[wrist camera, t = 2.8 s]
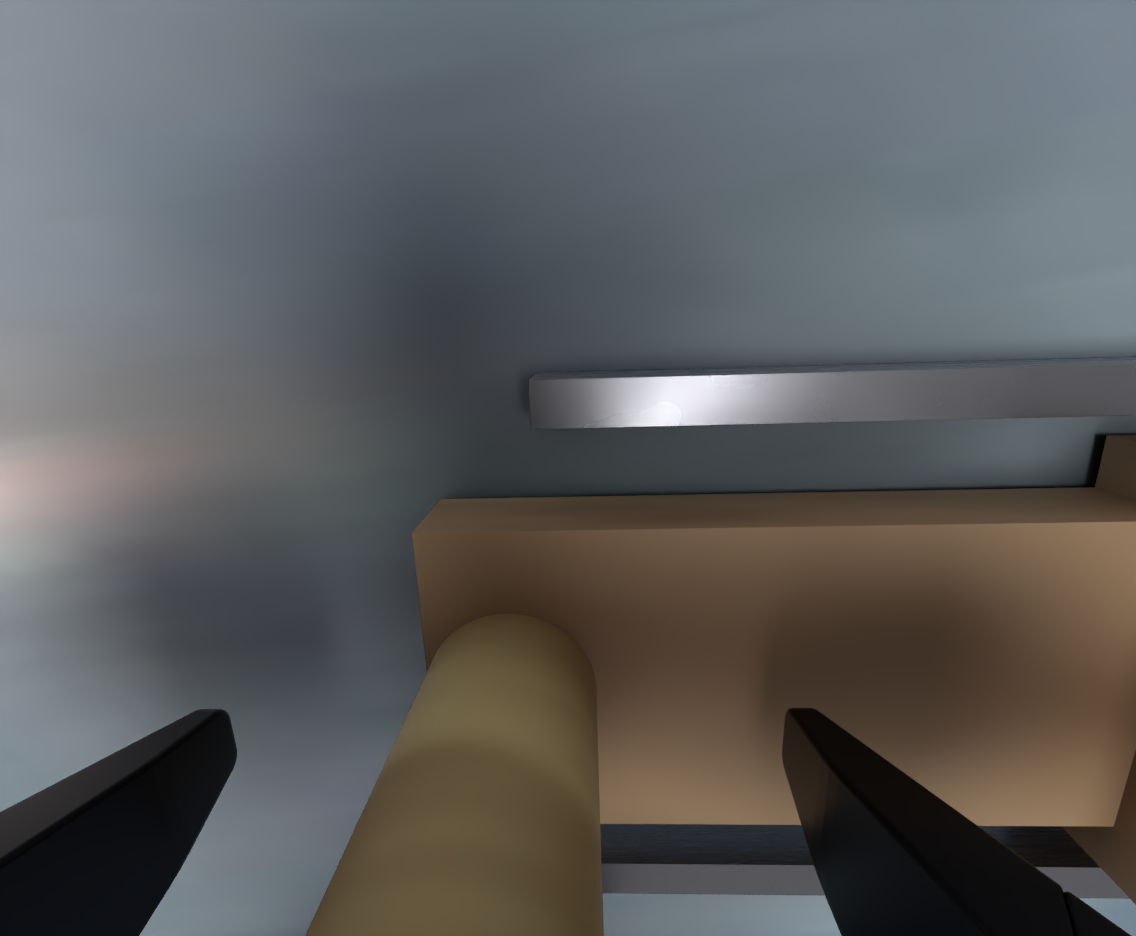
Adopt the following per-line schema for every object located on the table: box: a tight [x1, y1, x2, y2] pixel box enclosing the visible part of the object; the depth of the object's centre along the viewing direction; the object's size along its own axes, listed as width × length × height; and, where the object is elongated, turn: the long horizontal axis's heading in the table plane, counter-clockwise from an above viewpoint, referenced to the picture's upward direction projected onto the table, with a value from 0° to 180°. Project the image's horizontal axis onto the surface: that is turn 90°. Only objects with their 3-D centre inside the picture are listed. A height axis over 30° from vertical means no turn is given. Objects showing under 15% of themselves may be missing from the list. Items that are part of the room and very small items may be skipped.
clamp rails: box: [528, 357, 1136, 898], centre depth 10 cm, size 11×19×2 cm, turn 92°
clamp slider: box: [306, 435, 1136, 936], centre depth 7 cm, size 8×14×8 cm, turn 92°
